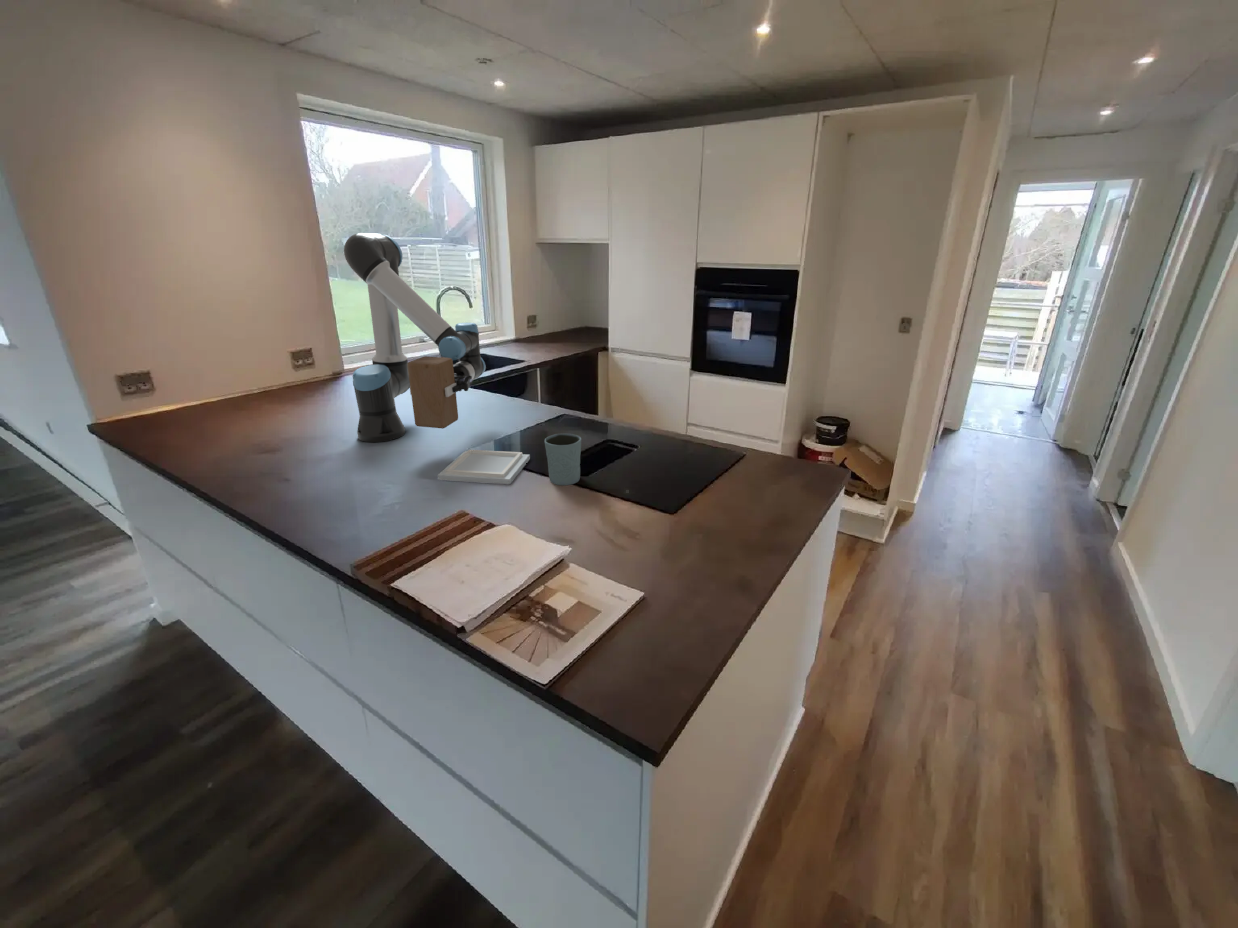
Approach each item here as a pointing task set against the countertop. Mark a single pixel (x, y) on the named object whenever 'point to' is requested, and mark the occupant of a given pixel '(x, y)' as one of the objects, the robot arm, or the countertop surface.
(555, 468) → the teal cup
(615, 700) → the countertop surface
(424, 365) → the wooden block
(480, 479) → the baseplate
